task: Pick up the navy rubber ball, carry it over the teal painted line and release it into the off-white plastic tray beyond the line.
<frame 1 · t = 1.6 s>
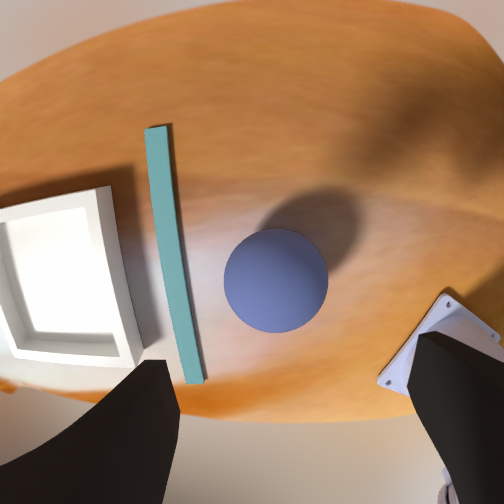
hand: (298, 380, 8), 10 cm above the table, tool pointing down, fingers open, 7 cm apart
tray: (56, 279, 18), on the table
ball: (276, 280, 15), point 2 cm above the table
teal line: (173, 271, 18), on the table
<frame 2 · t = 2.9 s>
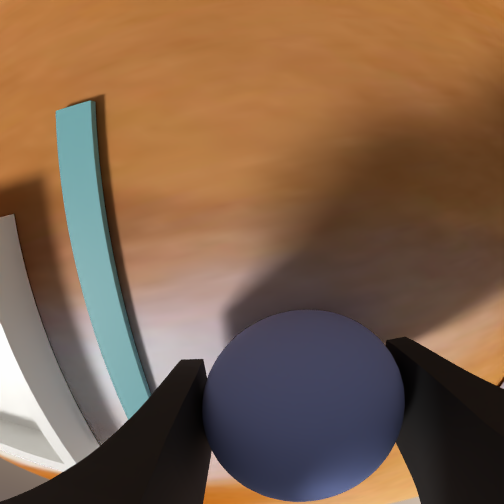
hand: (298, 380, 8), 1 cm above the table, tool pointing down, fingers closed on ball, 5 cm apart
ball: (304, 407, 7), point 2 cm above the table, touching gripper
teal line: (123, 358, 10), on the table
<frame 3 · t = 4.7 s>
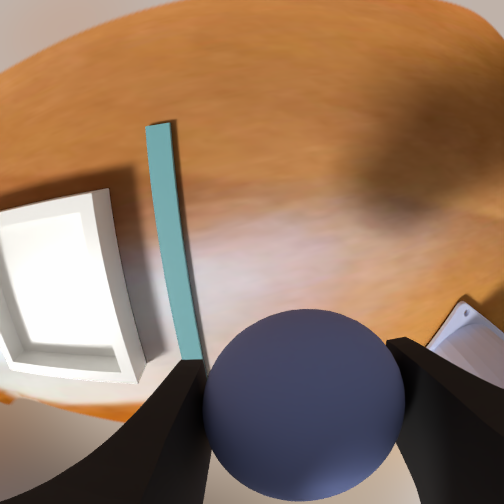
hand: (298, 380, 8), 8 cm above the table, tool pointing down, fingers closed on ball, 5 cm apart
tray: (52, 288, 16), on the table
ball: (304, 407, 7), point 10 cm above the table, touching gripper
teal line: (178, 281, 16), on the table
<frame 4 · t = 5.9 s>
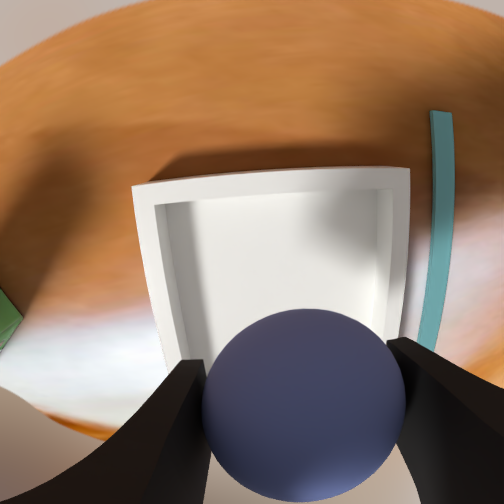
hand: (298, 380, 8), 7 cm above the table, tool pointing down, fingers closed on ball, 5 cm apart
tray: (278, 288, 14), on the table
ball: (304, 407, 7), point 8 cm above the table, touching gripper
teal line: (436, 270, 14), on the table
when the fingers open (4 cm above the table, at t = 6.7 s): ball drops 3 cm, resting on tray.
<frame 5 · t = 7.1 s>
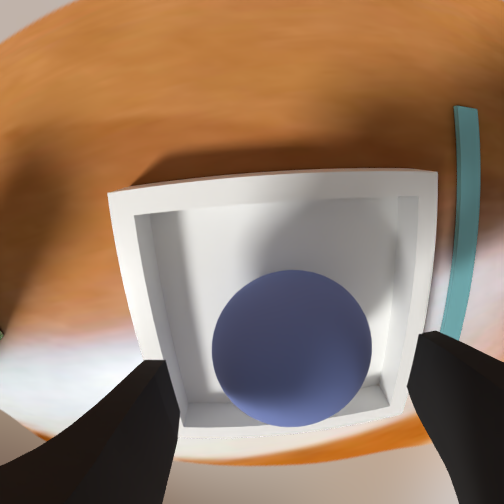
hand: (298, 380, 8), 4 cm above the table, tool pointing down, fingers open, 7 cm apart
tray: (282, 309, 12), on the table
ball: (292, 349, 10), point 3 cm above the table, touching tray
teal line: (457, 285, 12), on the table
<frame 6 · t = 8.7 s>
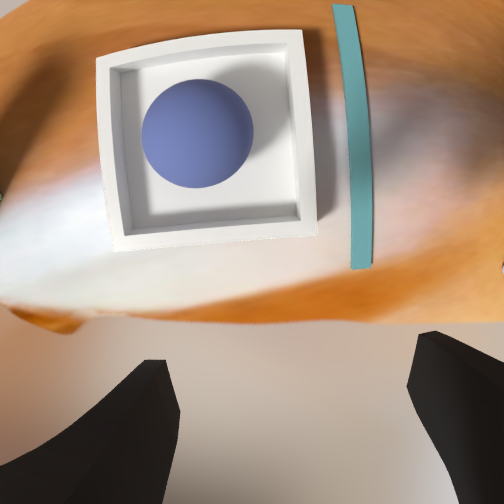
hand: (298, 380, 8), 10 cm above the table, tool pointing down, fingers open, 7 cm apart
tray: (205, 138, 16), on the table
ball: (197, 133, 13), point 3 cm above the table, touching tray
teal line: (357, 130, 16), on the table
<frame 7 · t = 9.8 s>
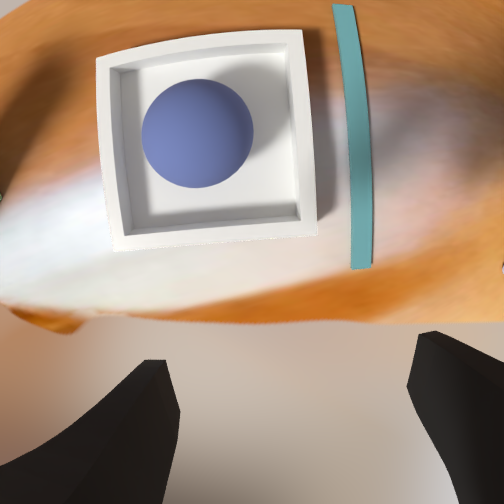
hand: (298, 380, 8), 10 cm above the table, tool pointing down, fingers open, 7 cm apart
tray: (205, 138, 16), on the table
ball: (197, 133, 13), point 3 cm above the table, touching tray
teal line: (357, 130, 16), on the table
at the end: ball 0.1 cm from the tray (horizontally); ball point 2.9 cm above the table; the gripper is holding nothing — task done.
